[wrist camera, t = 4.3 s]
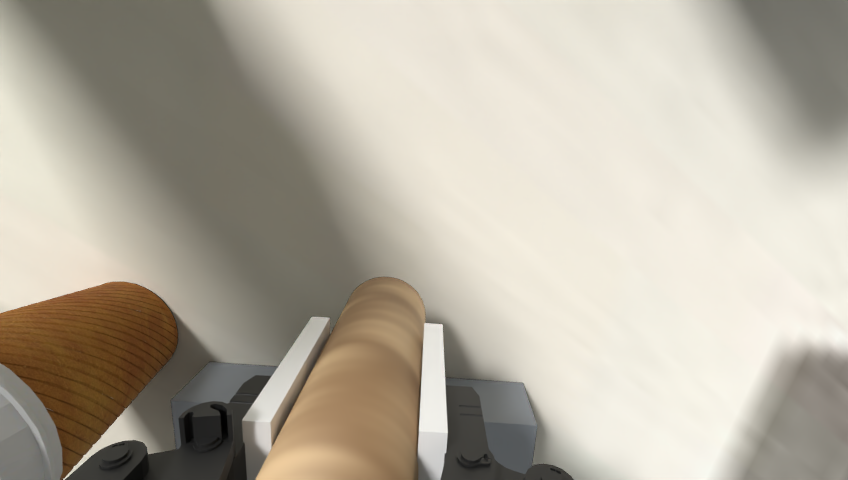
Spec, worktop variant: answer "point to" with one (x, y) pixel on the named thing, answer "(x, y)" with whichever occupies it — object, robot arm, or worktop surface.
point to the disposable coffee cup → (75, 373)
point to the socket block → (500, 401)
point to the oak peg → (359, 394)
